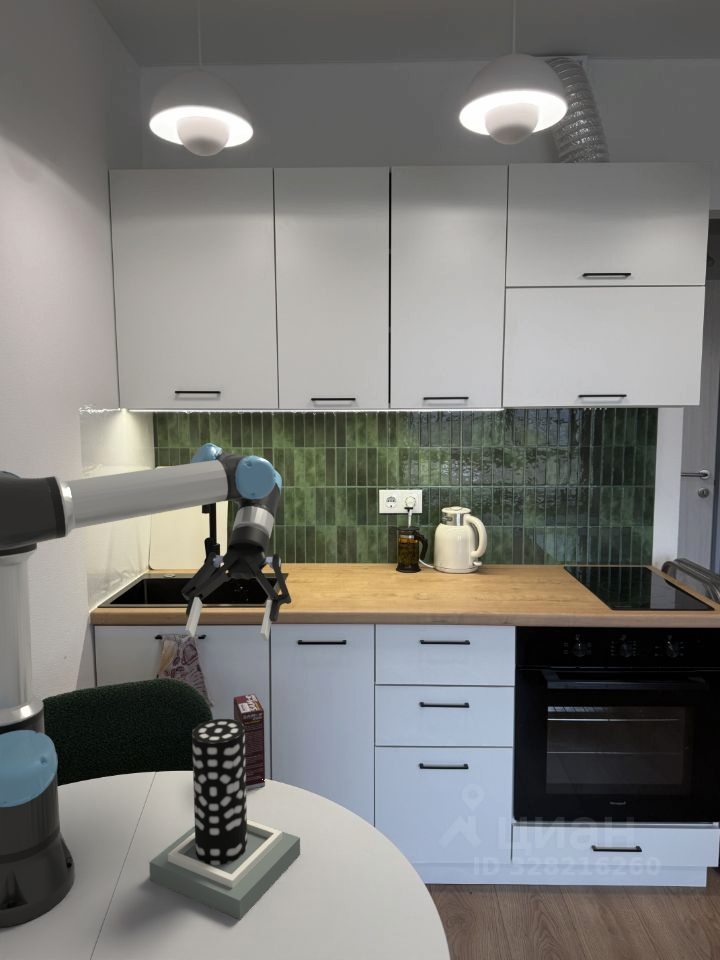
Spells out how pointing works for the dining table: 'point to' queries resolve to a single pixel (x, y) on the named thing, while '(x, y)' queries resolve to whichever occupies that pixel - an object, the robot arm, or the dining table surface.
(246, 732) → the supplement box
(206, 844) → the black polka dot cylinder
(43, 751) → the robot arm
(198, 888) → the tray
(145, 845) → the dining table surface
